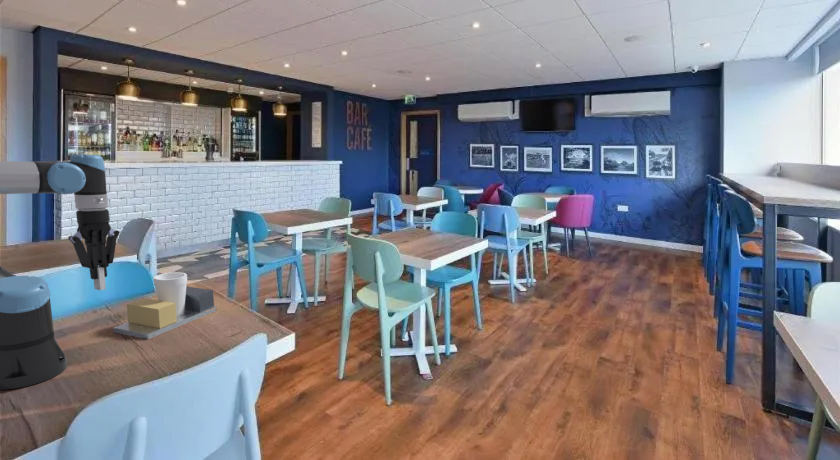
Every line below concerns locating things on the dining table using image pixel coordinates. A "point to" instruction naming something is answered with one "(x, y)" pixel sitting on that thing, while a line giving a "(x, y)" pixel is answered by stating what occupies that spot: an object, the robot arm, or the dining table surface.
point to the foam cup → (172, 289)
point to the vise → (194, 307)
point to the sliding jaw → (151, 313)
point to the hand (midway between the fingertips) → (100, 288)
